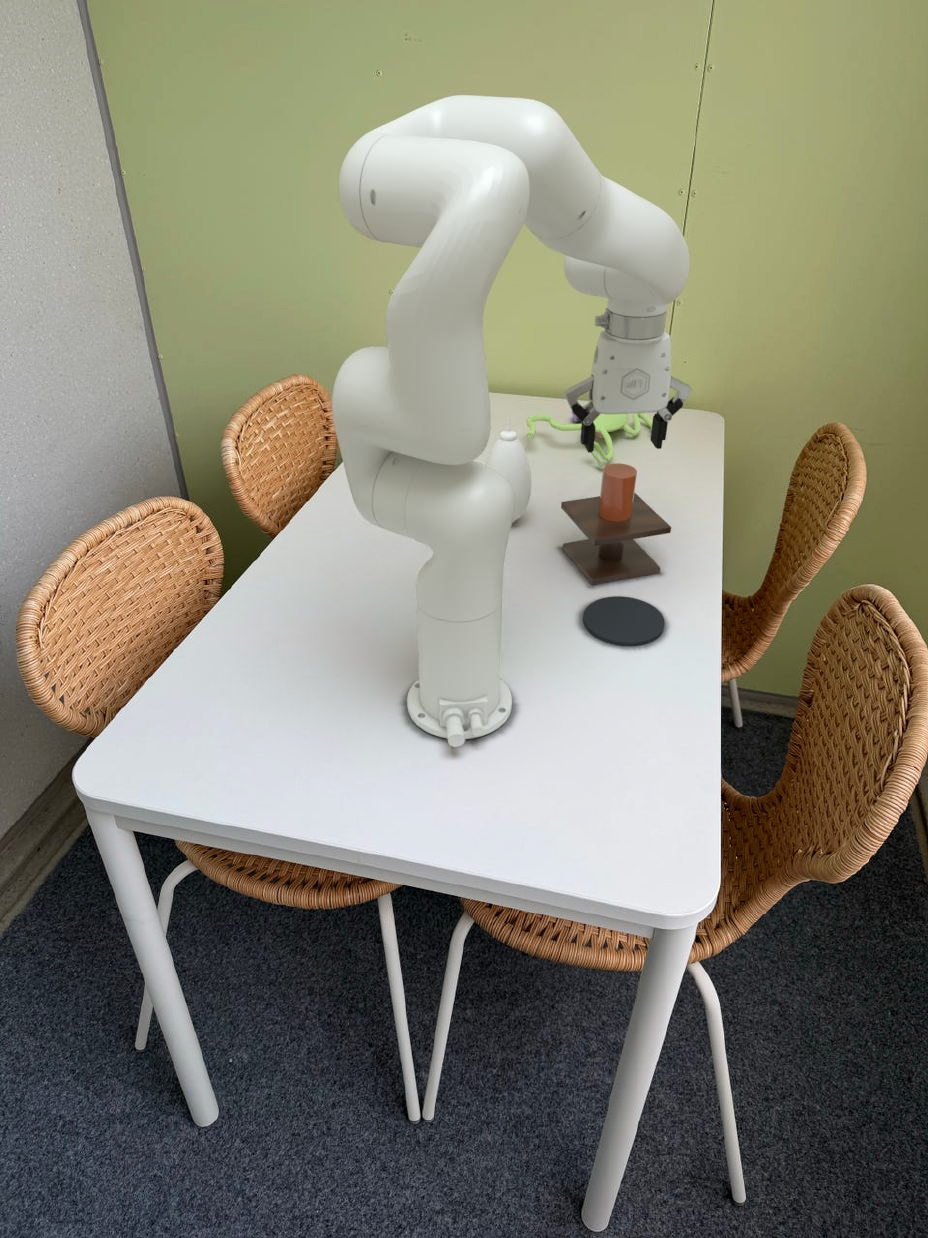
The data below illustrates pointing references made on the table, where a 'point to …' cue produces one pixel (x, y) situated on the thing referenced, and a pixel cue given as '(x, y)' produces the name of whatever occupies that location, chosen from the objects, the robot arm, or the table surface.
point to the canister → (617, 492)
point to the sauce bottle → (512, 467)
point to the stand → (612, 541)
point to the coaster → (623, 621)
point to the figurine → (596, 428)
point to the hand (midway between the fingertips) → (622, 446)
